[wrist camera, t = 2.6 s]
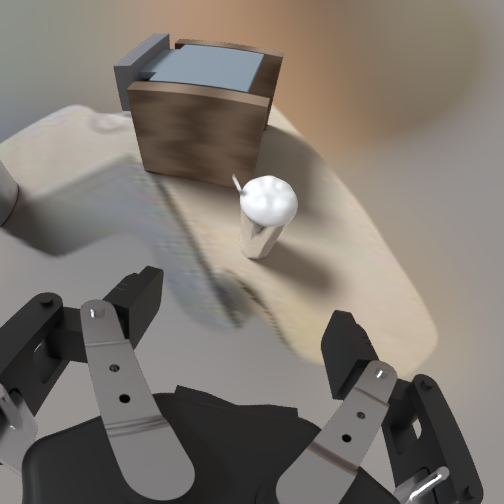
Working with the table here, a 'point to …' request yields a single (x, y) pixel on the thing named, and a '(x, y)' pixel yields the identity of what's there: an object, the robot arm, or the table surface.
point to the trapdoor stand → (204, 123)
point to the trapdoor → (186, 66)
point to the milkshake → (264, 213)
